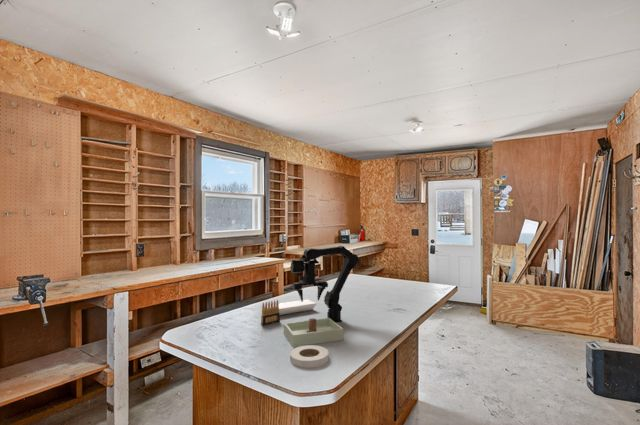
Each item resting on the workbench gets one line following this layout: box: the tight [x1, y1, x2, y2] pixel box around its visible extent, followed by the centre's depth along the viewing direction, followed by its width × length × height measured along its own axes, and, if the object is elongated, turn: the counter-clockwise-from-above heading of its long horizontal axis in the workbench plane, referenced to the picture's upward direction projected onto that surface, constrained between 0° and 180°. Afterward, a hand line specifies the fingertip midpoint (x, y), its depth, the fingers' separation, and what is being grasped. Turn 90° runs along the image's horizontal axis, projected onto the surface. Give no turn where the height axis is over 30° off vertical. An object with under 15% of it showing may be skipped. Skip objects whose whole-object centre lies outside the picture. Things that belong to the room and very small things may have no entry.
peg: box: [308, 317, 317, 332], centre depth 152 cm, size 4×4×8 cm
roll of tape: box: [289, 344, 330, 369], centre depth 127 cm, size 16×15×3 cm
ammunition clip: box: [260, 299, 281, 327], centre depth 172 cm, size 11×2×12 cm, turn 131°
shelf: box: [267, 298, 317, 316], centre depth 192 cm, size 12×30×5 cm, turn 121°
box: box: [283, 318, 344, 348], centre depth 152 cm, size 24×18×5 cm
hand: (310, 301), depth 172 cm, fingers open, 9 cm apart
